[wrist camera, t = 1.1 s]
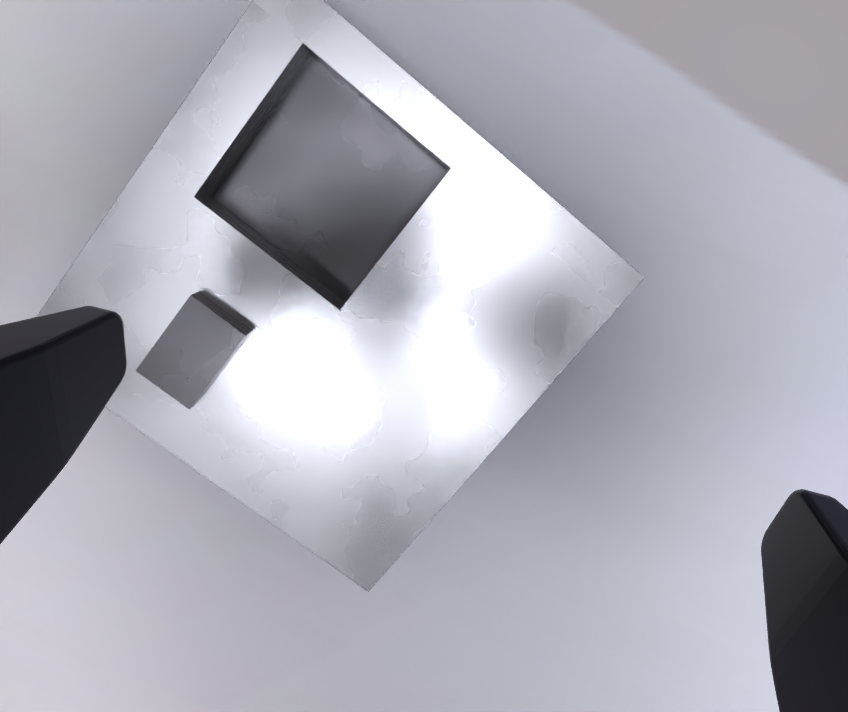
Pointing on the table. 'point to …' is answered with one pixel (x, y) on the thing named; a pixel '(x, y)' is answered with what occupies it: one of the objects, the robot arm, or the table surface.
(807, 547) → the robot arm
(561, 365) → the socket
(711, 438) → the table surface
